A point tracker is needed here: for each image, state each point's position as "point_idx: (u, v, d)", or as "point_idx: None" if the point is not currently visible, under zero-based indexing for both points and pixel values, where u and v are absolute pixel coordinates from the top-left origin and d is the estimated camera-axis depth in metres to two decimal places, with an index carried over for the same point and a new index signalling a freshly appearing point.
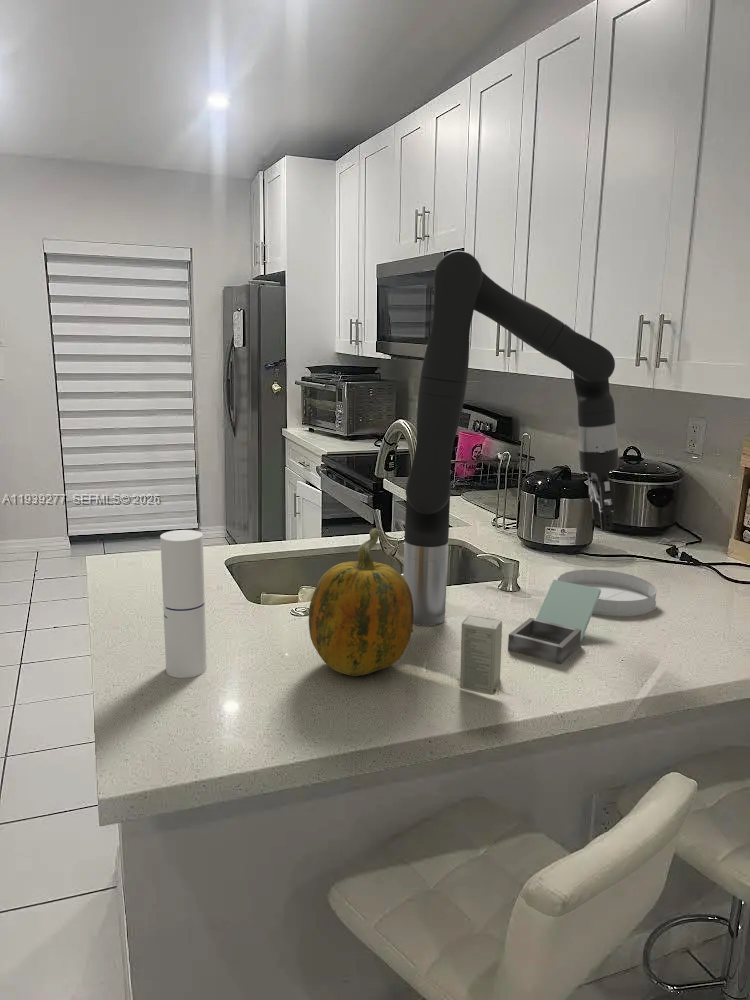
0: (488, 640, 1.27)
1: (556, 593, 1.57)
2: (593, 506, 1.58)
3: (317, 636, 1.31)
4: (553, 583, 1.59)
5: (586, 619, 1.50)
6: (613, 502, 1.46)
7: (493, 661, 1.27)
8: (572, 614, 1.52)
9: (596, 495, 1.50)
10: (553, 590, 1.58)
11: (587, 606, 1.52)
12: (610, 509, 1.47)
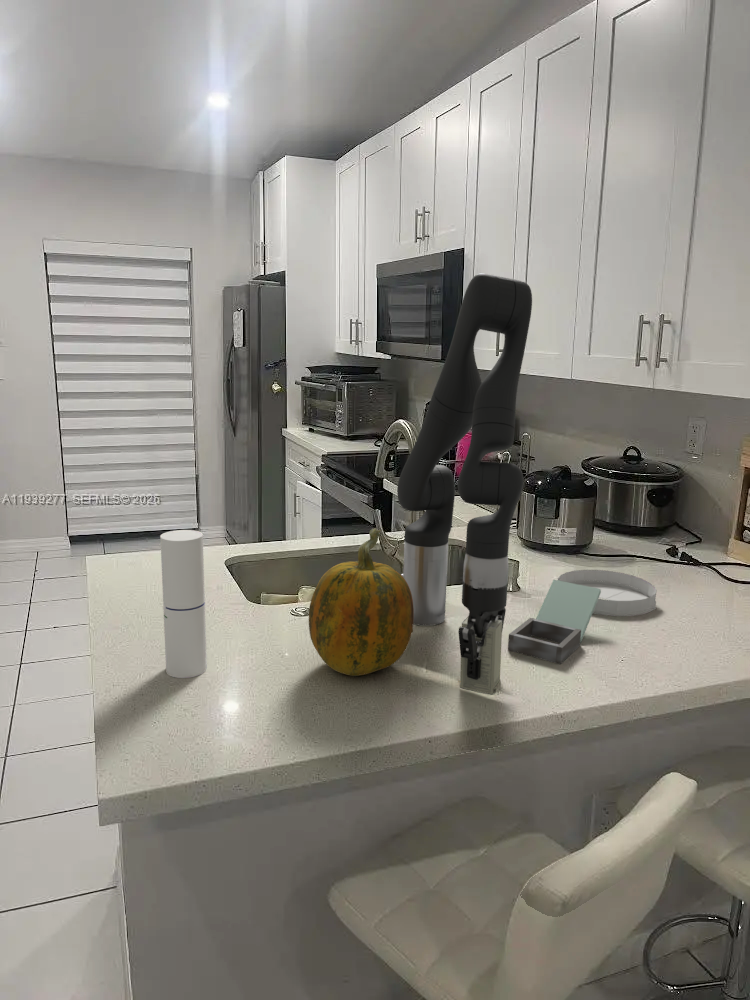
0: (488, 639, 1.27)
1: (556, 593, 1.57)
2: None
3: (317, 636, 1.31)
4: (553, 583, 1.59)
5: (586, 619, 1.50)
6: (471, 653, 1.24)
7: (493, 661, 1.27)
8: (572, 614, 1.52)
9: None
10: (553, 590, 1.58)
11: (587, 606, 1.52)
12: (469, 657, 1.25)
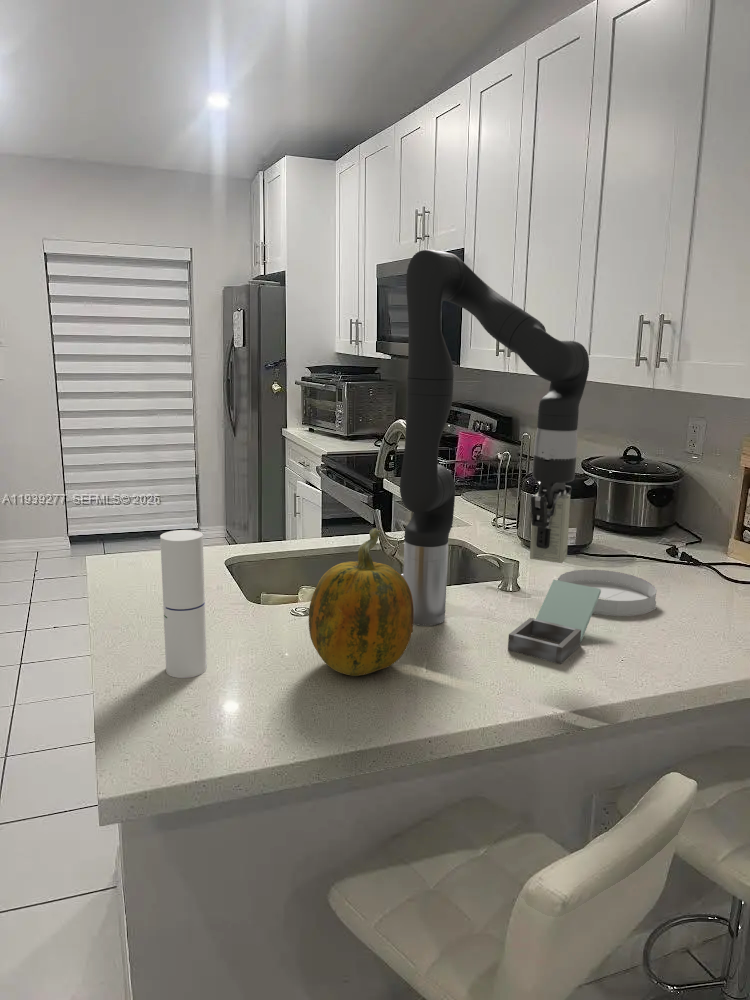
0: (558, 510, 1.36)
1: (556, 593, 1.57)
2: None
3: (317, 636, 1.31)
4: (553, 583, 1.59)
5: (586, 619, 1.50)
6: (543, 520, 1.33)
7: (563, 530, 1.36)
8: (572, 614, 1.52)
9: None
10: (553, 590, 1.58)
11: (587, 606, 1.52)
12: (540, 525, 1.34)
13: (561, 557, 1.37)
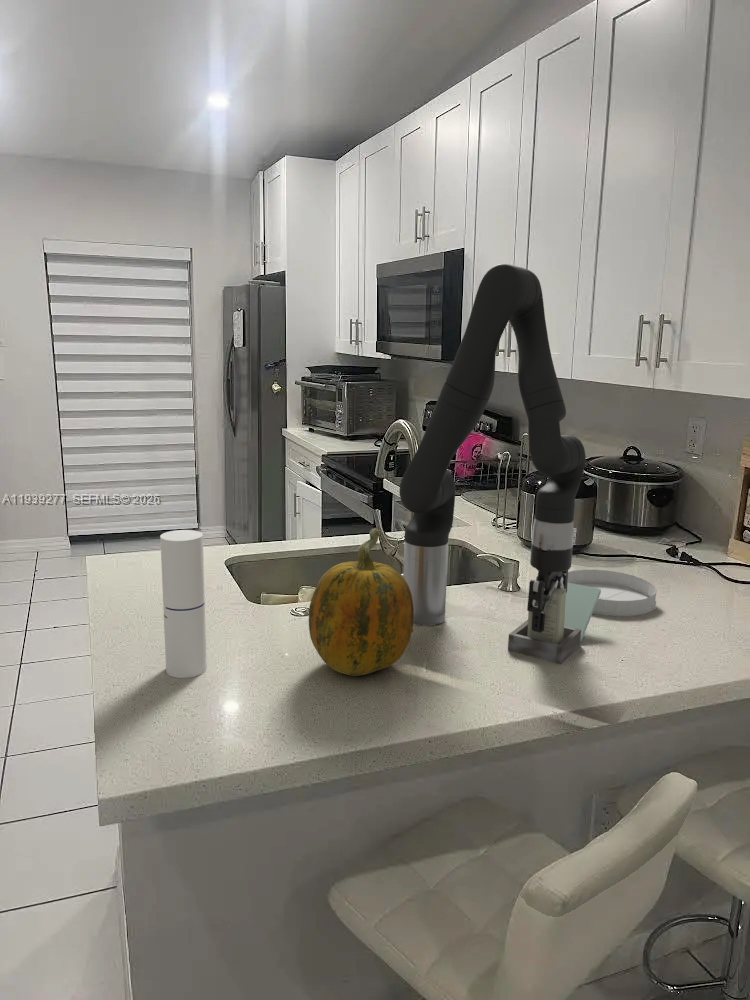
0: (553, 605, 1.40)
1: None
2: None
3: (317, 636, 1.31)
4: None
5: (586, 619, 1.50)
6: (539, 605, 1.37)
7: (558, 625, 1.41)
8: (572, 614, 1.52)
9: None
10: None
11: (587, 606, 1.52)
12: (535, 611, 1.37)
13: None
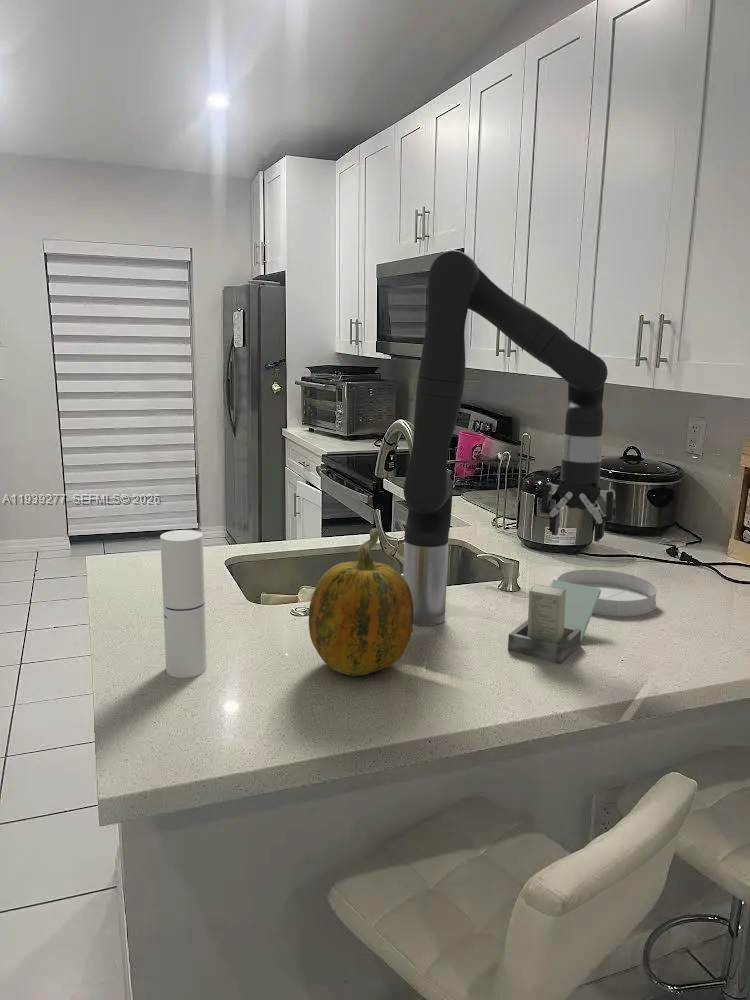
0: (553, 605, 1.40)
1: None
2: None
3: (317, 636, 1.31)
4: (553, 583, 1.59)
5: (586, 619, 1.50)
6: None
7: (558, 625, 1.41)
8: (572, 614, 1.52)
9: None
10: None
11: (587, 606, 1.52)
12: None
13: None
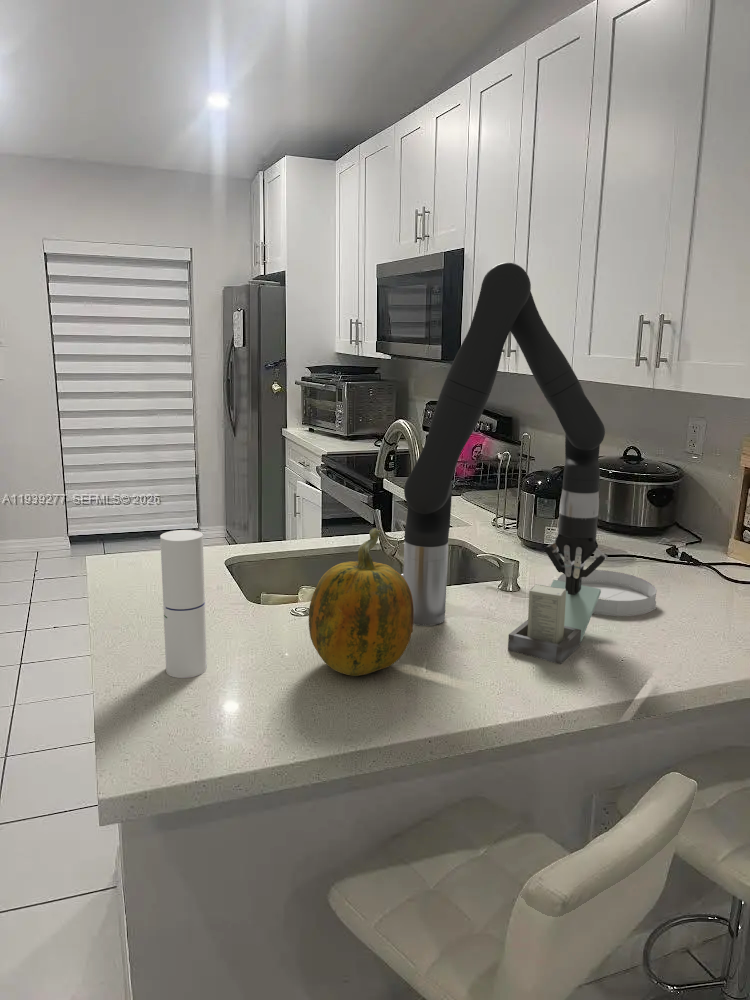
0: (553, 605, 1.40)
1: None
2: None
3: (317, 636, 1.31)
4: (553, 583, 1.59)
5: (586, 619, 1.50)
6: None
7: (558, 625, 1.41)
8: (572, 614, 1.52)
9: None
10: None
11: (587, 606, 1.52)
12: None
13: None
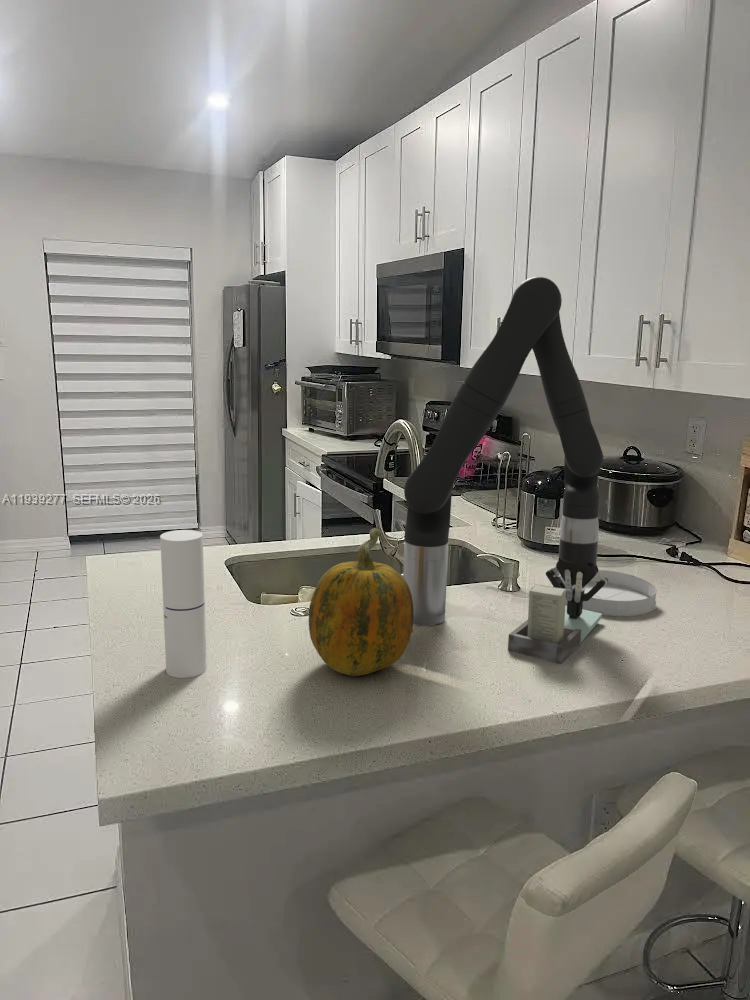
0: (553, 605, 1.40)
1: None
2: None
3: (317, 636, 1.31)
4: None
5: (587, 628, 1.52)
6: None
7: (558, 625, 1.41)
8: (574, 623, 1.54)
9: None
10: None
11: (588, 621, 1.55)
12: None
13: None
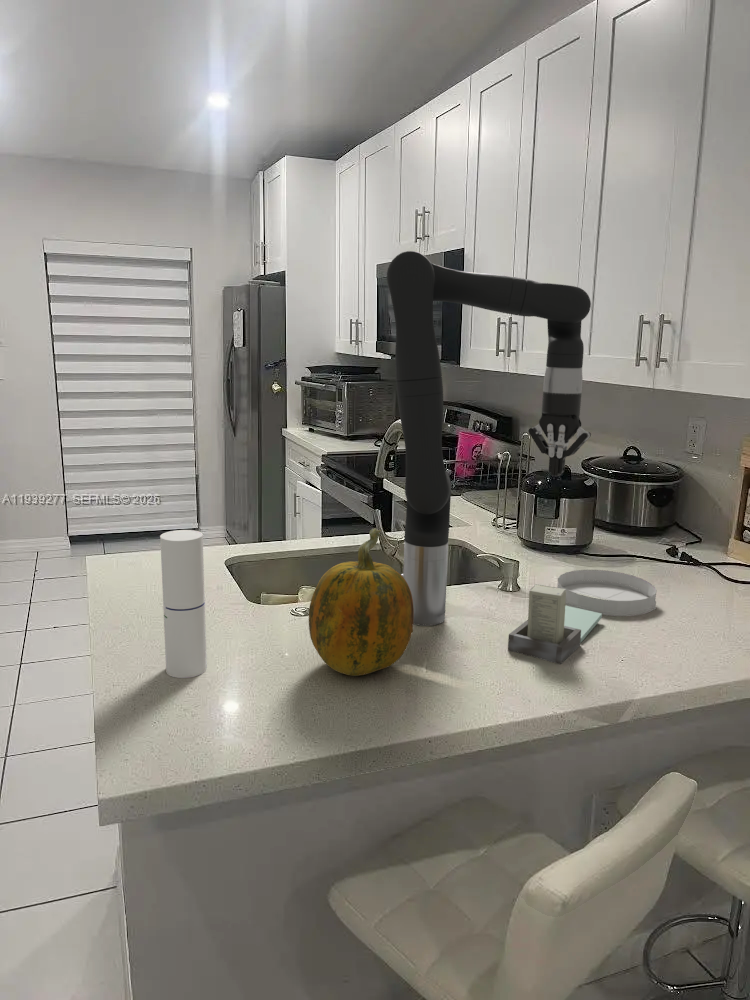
0: (553, 605, 1.40)
1: None
2: None
3: (317, 636, 1.31)
4: None
5: (587, 628, 1.52)
6: None
7: (558, 625, 1.41)
8: (574, 623, 1.54)
9: None
10: None
11: (588, 621, 1.55)
12: None
13: None
